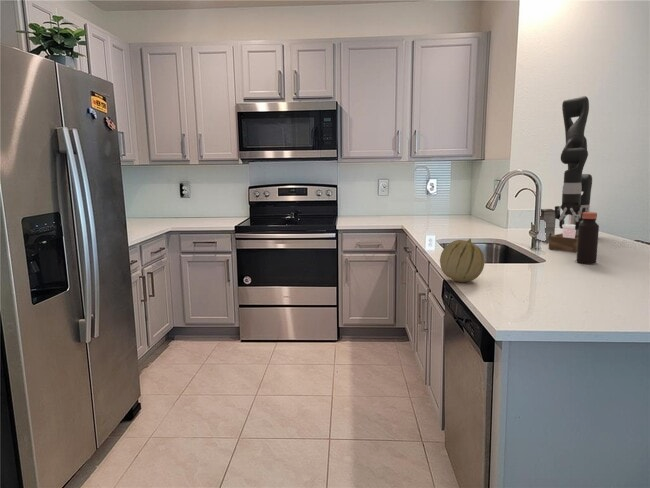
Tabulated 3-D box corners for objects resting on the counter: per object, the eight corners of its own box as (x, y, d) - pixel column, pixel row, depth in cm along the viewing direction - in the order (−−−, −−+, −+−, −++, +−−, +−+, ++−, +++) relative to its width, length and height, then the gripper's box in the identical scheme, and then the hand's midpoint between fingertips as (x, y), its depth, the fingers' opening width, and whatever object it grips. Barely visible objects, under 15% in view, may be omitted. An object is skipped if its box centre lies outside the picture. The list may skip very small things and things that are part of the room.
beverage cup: (559, 242, 205) (561, 213, 202) (574, 243, 203) (576, 213, 201) (562, 245, 199) (564, 215, 197) (577, 245, 197) (579, 215, 195)
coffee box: (536, 238, 230) (538, 208, 227) (549, 238, 229) (551, 208, 226) (541, 241, 221) (543, 210, 219) (554, 241, 220) (556, 210, 217)
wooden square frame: (561, 245, 210) (562, 233, 209) (588, 248, 200) (588, 235, 199) (548, 248, 203) (549, 236, 202) (575, 252, 193) (575, 238, 192)
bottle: (579, 260, 177) (582, 211, 174) (598, 262, 173) (602, 212, 169) (574, 263, 173) (577, 213, 169) (593, 265, 168) (597, 214, 164)
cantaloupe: (430, 280, 154) (431, 238, 151) (460, 274, 161) (461, 234, 158) (462, 289, 141) (463, 244, 138) (493, 282, 148) (494, 239, 145)
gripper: (592, 192, 193) (589, 229, 196) (560, 191, 205) (558, 226, 208) (584, 193, 189) (581, 231, 192) (551, 192, 201) (549, 228, 204)
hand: (569, 228), depth 200 cm, fingers closed on beverage cup, 6 cm apart
